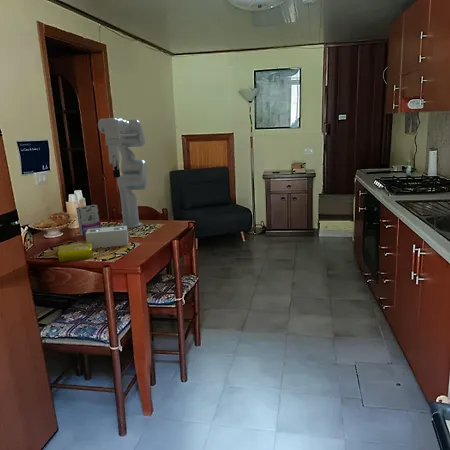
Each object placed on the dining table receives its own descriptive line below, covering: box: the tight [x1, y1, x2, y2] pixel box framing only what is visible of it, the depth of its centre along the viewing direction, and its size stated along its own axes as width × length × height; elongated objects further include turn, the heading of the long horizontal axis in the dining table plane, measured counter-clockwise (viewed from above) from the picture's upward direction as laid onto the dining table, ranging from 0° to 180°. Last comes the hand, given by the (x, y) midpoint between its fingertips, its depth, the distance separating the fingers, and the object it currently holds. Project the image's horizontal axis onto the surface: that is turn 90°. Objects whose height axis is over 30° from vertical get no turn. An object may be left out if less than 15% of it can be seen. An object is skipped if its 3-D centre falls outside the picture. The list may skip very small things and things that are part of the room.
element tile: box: [57, 242, 94, 263], centre depth 197 cm, size 15×15×5 cm
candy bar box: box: [75, 204, 102, 237], centre depth 237 cm, size 11×5×16 cm, turn 131°
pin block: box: [85, 225, 129, 249], centre depth 214 cm, size 10×20×8 cm, turn 101°
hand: (116, 177), depth 222 cm, fingers closed
